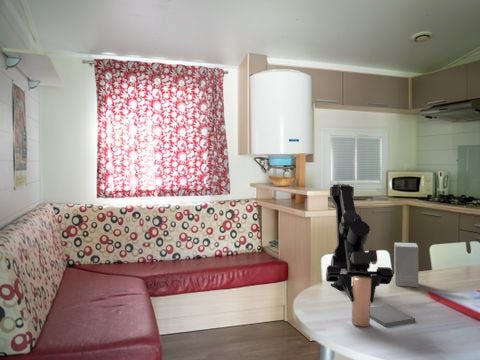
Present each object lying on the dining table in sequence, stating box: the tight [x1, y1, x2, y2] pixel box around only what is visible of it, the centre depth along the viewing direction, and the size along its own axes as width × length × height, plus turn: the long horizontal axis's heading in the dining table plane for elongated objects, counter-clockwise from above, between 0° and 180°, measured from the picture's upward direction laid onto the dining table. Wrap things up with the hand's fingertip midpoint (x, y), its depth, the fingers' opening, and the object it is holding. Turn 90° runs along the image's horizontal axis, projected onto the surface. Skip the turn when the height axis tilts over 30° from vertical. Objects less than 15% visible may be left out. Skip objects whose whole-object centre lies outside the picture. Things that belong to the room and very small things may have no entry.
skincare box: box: [393, 242, 420, 288], centre depth 142 cm, size 8×7×16 cm
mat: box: [370, 304, 416, 328], centre depth 112 cm, size 11×11×1 cm
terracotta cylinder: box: [351, 276, 371, 327], centre depth 106 cm, size 5×5×13 cm
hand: (362, 301), depth 105 cm, fingers closed on terracotta cylinder, 5 cm apart
